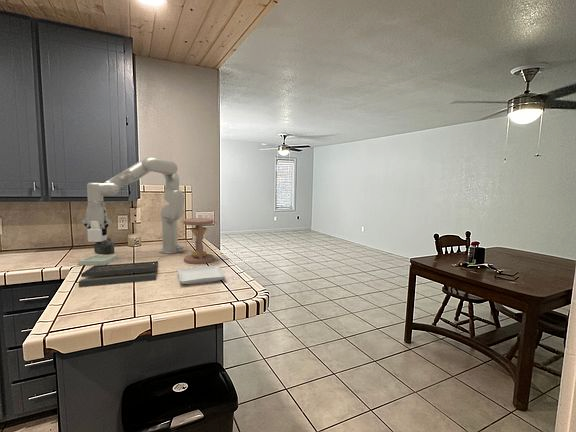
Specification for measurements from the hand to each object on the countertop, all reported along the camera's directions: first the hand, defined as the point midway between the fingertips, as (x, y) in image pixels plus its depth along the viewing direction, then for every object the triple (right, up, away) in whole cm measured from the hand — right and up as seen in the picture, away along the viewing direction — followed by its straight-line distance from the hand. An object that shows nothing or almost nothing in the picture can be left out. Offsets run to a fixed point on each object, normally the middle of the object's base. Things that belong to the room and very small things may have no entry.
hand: (97, 234), depth 172 cm
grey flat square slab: (+66, -21, -22) cm, 72 cm away
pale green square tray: (0, -16, +2) cm, 16 cm away
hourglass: (+56, -16, +11) cm, 59 cm away
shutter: (+25, -20, -18) cm, 36 cm away
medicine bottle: (0, -4, 0) cm, 4 cm away
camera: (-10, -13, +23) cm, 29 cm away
